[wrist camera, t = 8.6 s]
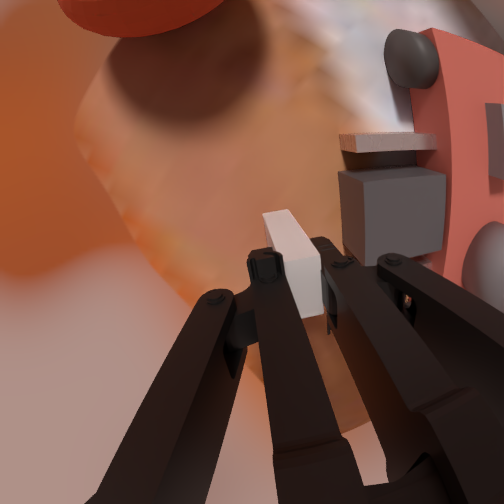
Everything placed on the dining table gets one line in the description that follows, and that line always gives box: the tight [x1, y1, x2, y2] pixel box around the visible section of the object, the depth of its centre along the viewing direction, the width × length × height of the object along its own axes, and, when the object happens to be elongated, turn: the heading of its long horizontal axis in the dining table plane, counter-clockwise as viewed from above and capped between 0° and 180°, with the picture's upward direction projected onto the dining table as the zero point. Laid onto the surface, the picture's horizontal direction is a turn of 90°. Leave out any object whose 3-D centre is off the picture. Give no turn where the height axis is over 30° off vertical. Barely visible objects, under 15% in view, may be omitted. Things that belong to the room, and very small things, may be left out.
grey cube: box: [338, 165, 446, 266], centre depth 16 cm, size 5×6×4 cm
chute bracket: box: [339, 132, 437, 270], centre depth 17 cm, size 10×6×2 cm, turn 9°
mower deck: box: [384, 28, 504, 313], centre depth 14 cm, size 24×13×8 cm, turn 9°
